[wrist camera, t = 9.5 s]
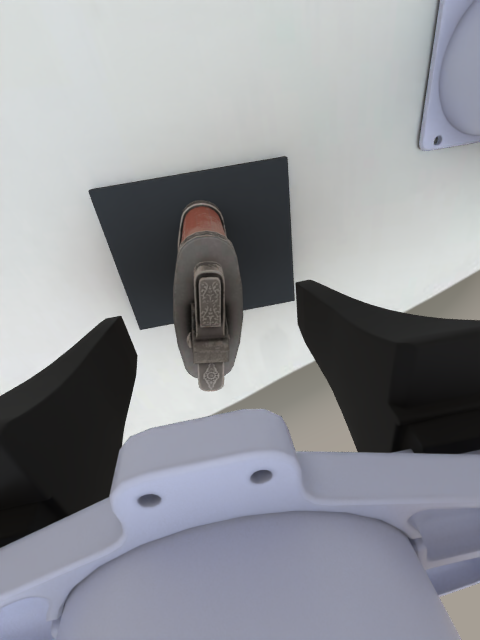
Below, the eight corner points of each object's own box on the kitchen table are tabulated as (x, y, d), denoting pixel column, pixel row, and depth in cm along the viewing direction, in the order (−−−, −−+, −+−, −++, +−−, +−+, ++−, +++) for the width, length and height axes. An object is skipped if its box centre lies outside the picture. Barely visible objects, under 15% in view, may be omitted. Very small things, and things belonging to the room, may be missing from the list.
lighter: (226, 311, 24) (247, 412, 16) (181, 313, 24) (177, 418, 15) (228, 200, 20) (257, 255, 11) (173, 200, 19) (161, 257, 11)
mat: (285, 156, 19) (287, 156, 19) (293, 297, 25) (294, 300, 24) (90, 189, 19) (87, 190, 18) (140, 326, 24) (139, 330, 24)
